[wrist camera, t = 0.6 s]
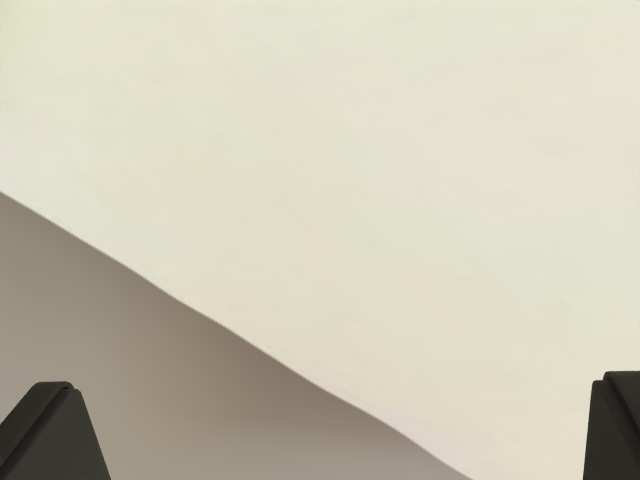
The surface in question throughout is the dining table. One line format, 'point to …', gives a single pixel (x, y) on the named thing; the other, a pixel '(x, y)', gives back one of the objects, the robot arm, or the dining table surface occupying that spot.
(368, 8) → the dining table surface
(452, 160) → the dining table surface
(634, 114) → the dining table surface
